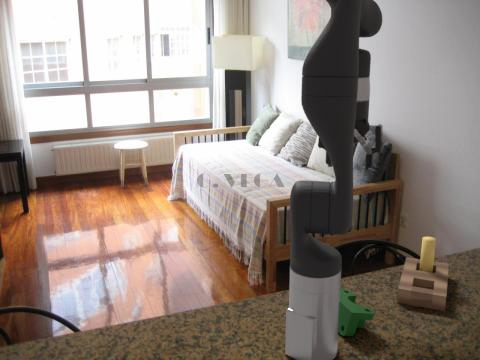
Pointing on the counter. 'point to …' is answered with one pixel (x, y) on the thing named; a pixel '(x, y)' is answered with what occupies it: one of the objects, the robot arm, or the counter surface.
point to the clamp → (351, 314)
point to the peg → (427, 254)
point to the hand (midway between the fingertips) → (348, 167)
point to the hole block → (423, 285)
